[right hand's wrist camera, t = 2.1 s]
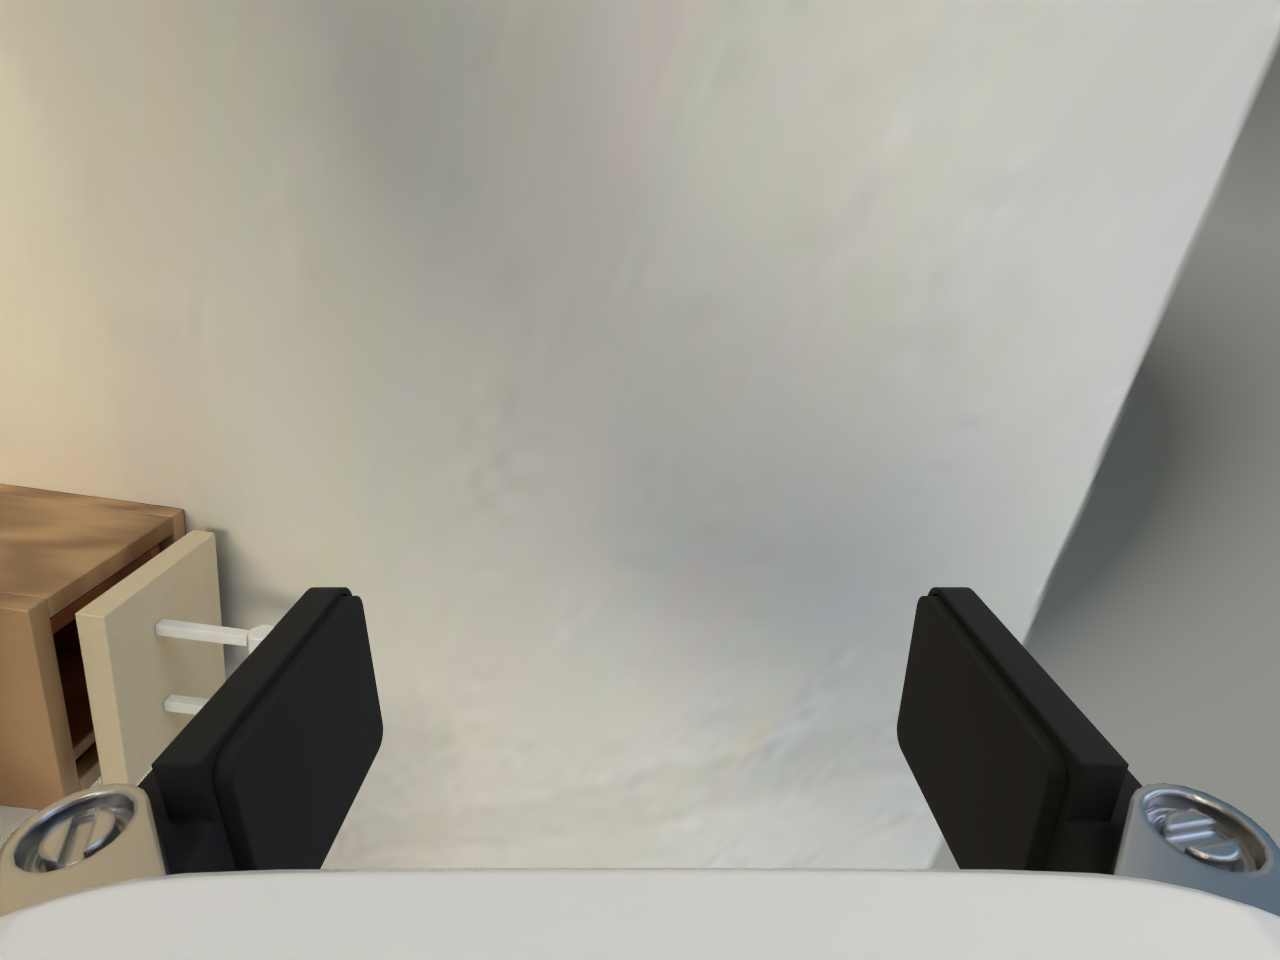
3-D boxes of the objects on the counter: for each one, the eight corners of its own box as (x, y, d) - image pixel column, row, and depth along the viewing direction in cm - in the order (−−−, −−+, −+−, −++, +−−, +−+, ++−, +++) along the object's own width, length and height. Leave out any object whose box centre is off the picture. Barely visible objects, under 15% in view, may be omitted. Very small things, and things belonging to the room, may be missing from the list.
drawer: (321, 546, 37) (238, 634, 29) (322, 693, 40) (249, 805, 33) (-118, 487, 35) (-326, 562, 28) (-77, 643, 39) (-252, 749, 31)
